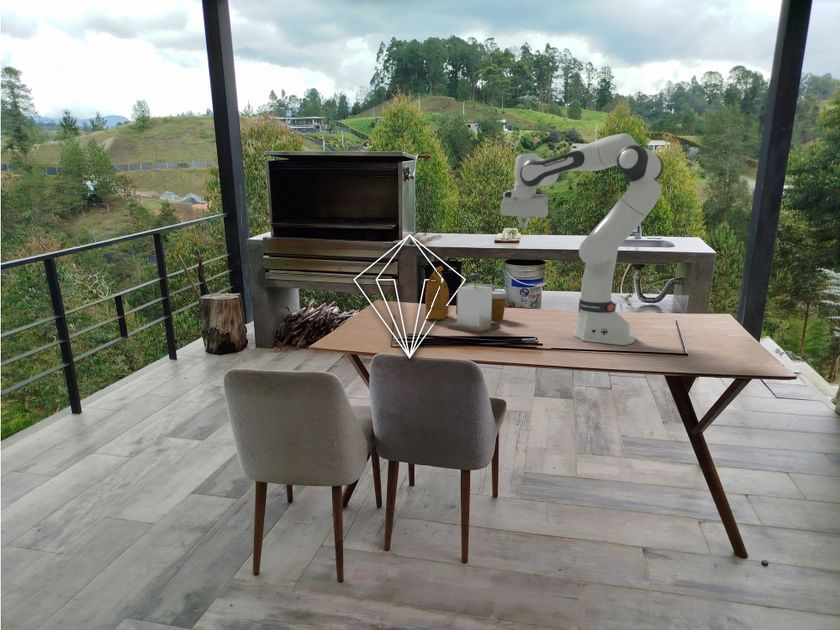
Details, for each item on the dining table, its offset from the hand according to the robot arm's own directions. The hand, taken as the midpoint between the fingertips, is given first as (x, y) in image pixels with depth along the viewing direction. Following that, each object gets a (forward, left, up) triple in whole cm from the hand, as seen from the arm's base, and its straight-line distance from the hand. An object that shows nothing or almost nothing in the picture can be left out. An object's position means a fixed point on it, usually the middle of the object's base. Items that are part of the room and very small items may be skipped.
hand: (523, 227), depth 251 cm
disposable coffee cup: (+8, +7, -39) cm, 41 cm away
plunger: (+8, +25, -36) cm, 44 cm away
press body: (+8, +25, -39) cm, 47 cm away
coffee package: (+30, +19, -39) cm, 53 cm away
